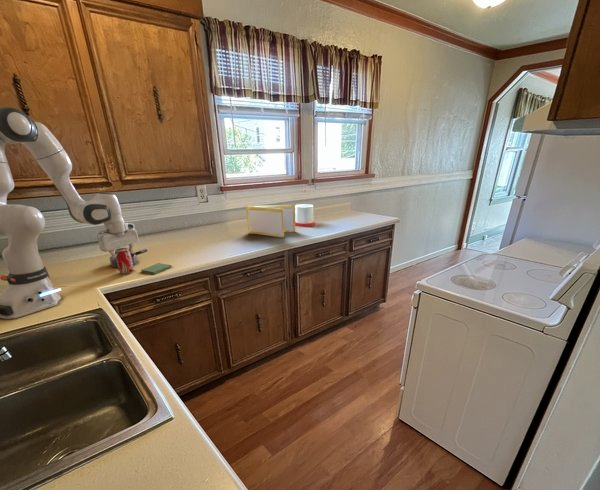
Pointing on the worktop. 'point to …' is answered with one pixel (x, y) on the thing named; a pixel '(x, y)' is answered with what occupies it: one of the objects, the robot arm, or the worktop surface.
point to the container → (304, 215)
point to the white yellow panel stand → (271, 219)
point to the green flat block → (156, 268)
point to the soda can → (124, 260)
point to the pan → (114, 263)
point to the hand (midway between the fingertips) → (123, 255)
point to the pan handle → (141, 252)
